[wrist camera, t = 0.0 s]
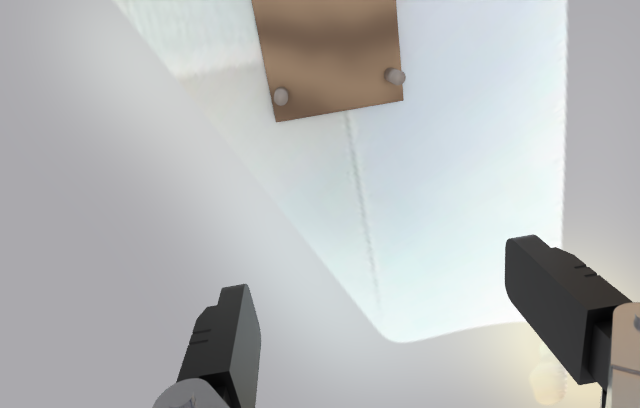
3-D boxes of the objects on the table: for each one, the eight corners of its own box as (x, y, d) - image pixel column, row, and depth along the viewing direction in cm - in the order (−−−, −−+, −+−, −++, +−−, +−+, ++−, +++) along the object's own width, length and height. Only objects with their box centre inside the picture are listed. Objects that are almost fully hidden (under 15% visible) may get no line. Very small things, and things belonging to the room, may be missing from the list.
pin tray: (242, -48, 34) (236, -58, 30) (386, -73, 34) (398, -86, 30) (276, 119, 40) (275, 129, 36) (400, 98, 40) (412, 105, 36)
